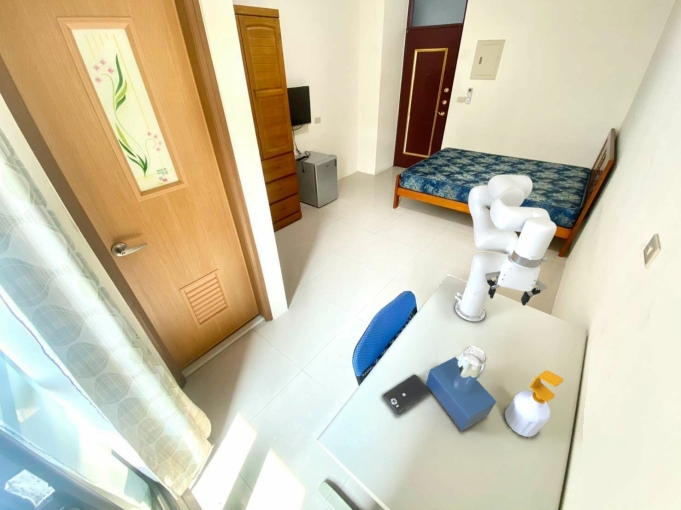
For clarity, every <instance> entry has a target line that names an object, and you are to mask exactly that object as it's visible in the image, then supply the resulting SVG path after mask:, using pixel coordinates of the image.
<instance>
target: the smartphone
mask: <svg viewBox="0 0 681 510" xmlns="http://www.w3.org/2000/svg"><path fill="white" fill-rule="evenodd" d="M429 393H430V390H429V388H428V387H427V385H426V383H424V382H423V381H422V380H421V378H420V377H418V376H417V374H412V375H411V376H409V377H407V378H406V379H405V380H403V381H402V382H400V383H398V384H397V385H395V386H394V387H392V388H391V389H390V390H388V391H386V392H385V393H383V396H382V397H383V399H384V400H385V402H386V403H387V404H388V406H389V407H390V408H391V410H392V411H393V412H394V414H395V415H396V416H397V415H400V414H402V413H403V412H404V411H406V410H407V409H409V408H410V407H411V406H412V405H414V404H415V403H417V402H419V400H421V399H422V398H424V397H425V396H426V395H428V394H429Z"/></svg>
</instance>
